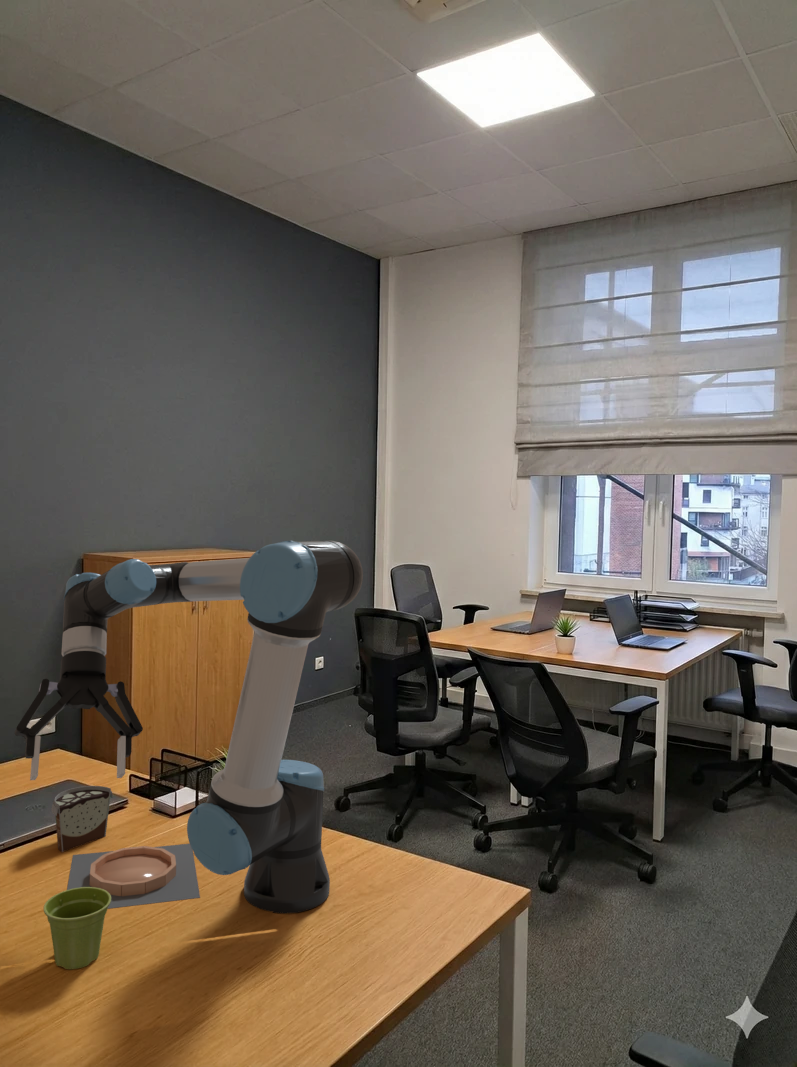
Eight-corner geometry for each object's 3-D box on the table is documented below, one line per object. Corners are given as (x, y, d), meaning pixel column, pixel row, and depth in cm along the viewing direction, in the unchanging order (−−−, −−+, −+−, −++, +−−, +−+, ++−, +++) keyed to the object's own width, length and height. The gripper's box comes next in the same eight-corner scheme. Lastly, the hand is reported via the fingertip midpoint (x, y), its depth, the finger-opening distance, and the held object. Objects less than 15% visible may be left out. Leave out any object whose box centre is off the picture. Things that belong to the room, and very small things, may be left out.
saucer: (173, 853, 152) (173, 843, 152) (177, 889, 139) (177, 878, 138) (92, 861, 148) (92, 851, 148) (87, 900, 134) (88, 888, 134)
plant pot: (41, 983, 112) (43, 923, 111) (42, 947, 120) (44, 892, 120) (111, 969, 115) (113, 912, 115) (107, 936, 124) (109, 882, 124)
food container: (94, 827, 164) (95, 780, 163) (111, 836, 160) (113, 787, 159) (37, 847, 154) (38, 797, 153) (55, 856, 150) (56, 805, 150)
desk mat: (191, 845, 157) (191, 843, 157) (200, 899, 136) (200, 897, 136) (72, 857, 150) (72, 854, 150) (62, 916, 129) (62, 913, 129)
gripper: (149, 667, 149) (148, 780, 139) (3, 661, 137) (-9, 785, 127) (160, 652, 144) (160, 769, 134) (10, 644, 131) (-2, 772, 121)
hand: (78, 777), depth 130 cm, fingers open, 13 cm apart
